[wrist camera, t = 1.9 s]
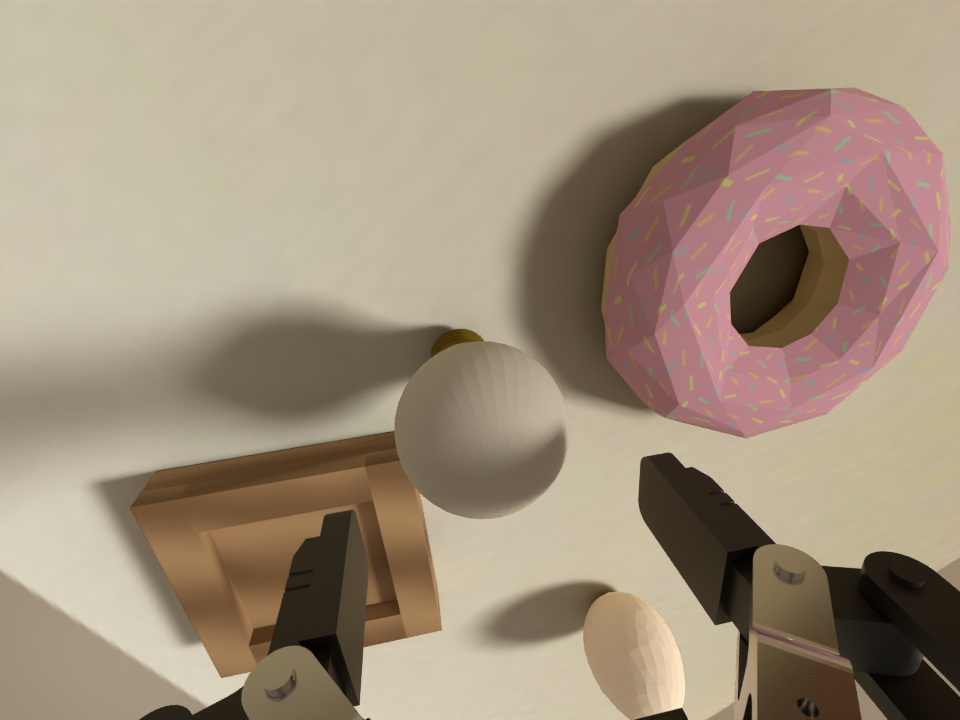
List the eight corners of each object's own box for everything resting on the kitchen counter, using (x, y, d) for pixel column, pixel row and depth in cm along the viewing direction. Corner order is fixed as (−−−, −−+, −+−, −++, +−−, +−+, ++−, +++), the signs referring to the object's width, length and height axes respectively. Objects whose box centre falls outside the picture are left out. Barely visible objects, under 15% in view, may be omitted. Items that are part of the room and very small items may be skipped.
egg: (658, 590, 32) (730, 711, 25) (601, 636, 33) (655, 763, 26) (612, 558, 30) (676, 679, 23) (552, 608, 31) (597, 738, 24)
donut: (856, 356, 27) (949, 398, 22) (607, 438, 26) (650, 497, 22) (892, 45, 20) (1035, 16, 16) (556, 145, 20) (605, 144, 15)
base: (156, 471, 22) (129, 507, 20) (407, 429, 24) (409, 459, 21) (235, 634, 27) (221, 678, 25) (438, 592, 29) (441, 630, 27)
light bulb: (419, 418, 24) (434, 585, 15) (375, 312, 21) (359, 437, 12) (530, 379, 24) (612, 522, 15) (499, 270, 21) (576, 362, 12)
